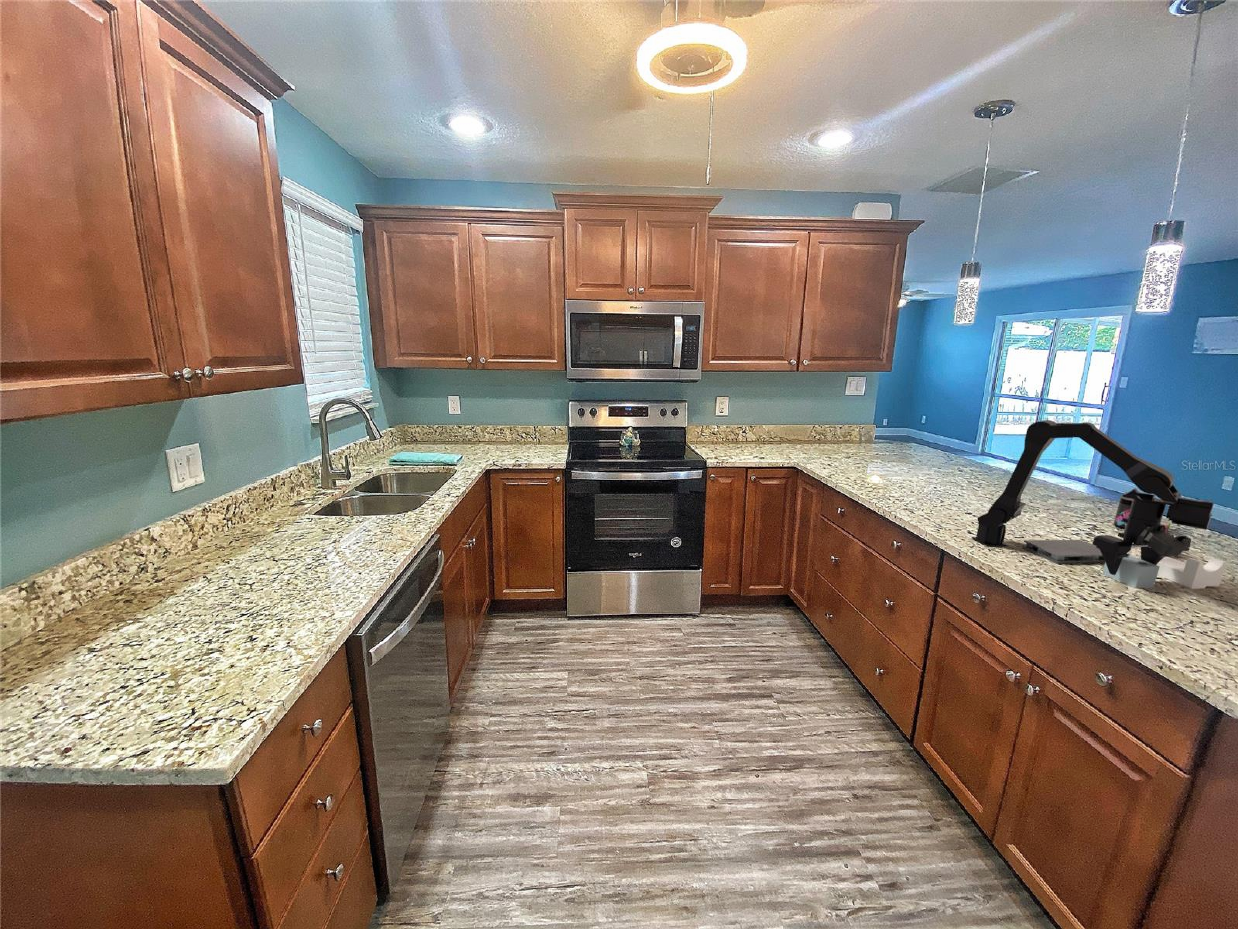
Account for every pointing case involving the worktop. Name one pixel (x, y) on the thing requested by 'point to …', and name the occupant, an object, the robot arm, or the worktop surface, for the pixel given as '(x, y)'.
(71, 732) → the worktop surface
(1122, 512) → the supplement container
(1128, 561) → the housing
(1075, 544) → the stand
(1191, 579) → the bracket
